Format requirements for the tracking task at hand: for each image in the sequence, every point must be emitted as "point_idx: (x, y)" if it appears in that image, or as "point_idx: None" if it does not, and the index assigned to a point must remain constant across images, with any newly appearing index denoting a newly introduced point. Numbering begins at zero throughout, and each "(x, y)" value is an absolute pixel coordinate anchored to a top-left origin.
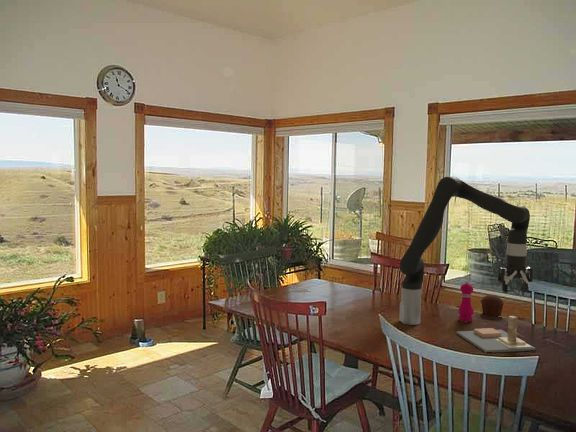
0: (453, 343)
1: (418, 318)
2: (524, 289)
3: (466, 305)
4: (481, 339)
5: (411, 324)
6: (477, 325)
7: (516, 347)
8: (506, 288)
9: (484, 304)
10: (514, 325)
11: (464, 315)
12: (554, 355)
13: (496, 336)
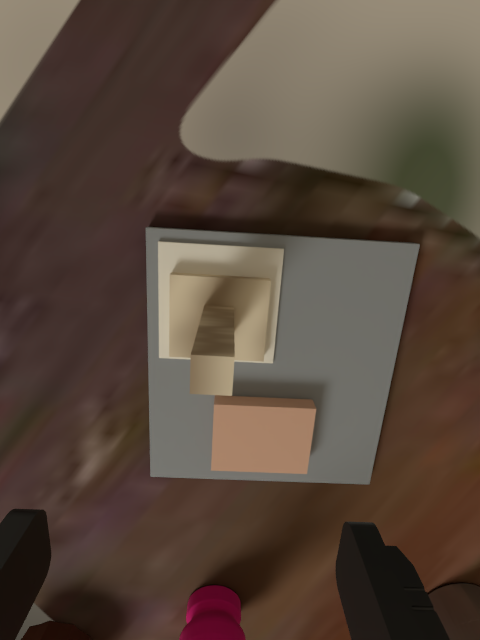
0: (467, 377)
1: (457, 612)
2: (19, 552)
3: None
4: (332, 379)
5: (475, 585)
6: (206, 546)
7: (245, 246)
8: (399, 585)
9: None
10: (214, 333)
11: (232, 618)
12: (95, 138)
13: (239, 397)
